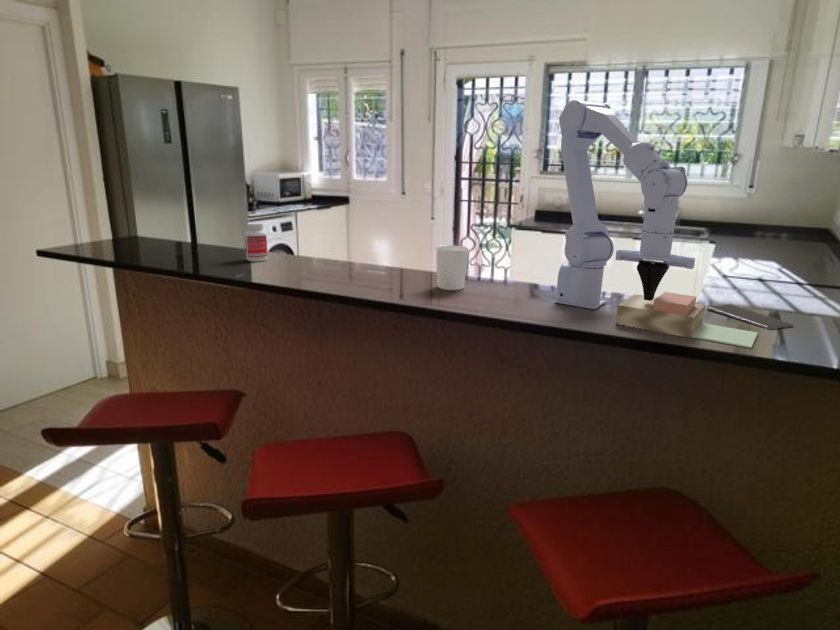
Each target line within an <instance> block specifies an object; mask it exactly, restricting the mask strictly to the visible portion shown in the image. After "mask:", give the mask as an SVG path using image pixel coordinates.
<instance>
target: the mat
mask: <svg viewBox="0 0 840 630" xmlns="http://www.w3.org/2000/svg"><path fill="white" fill-rule="evenodd" d="M758 335H759V332H757V331H752V330H745V329H740V328H733V327H729V326H727V327H726V326H721V325H716V324H709V323H704V322H702V324H701V325H700V326H699V327H698V328H697V330H696V331H695V332H694V333H693V334H692V336H691V338H693V339H698V340H703V341H707V342H709V341H710V342H714V343H721V344H726V345H730V346H736V347H741V348H747V349H752V347H753V346H754V344H755V340H756V339H757V337H758Z"/></svg>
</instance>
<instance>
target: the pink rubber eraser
mask: <svg viewBox="0 0 840 630" xmlns="http://www.w3.org/2000/svg"><path fill="white" fill-rule="evenodd" d="M696 302H697V296H696V295H689V294H680V293H674V292H667V291H664V292H663V293H661V294H660V295H658V297H656V299H655V300H654V303H653V310H655V311H661V312H667V313H673V314H679V315H685V316H686V315H687V314H688V313H689V312H690V311H691V310H692V309H693V308H694V307H695V304H697V303H696Z"/></svg>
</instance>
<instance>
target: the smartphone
mask: <svg viewBox="0 0 840 630" xmlns="http://www.w3.org/2000/svg"><path fill="white" fill-rule="evenodd" d="M706 309H707V310H708V312H709V311H710V312H712V313H716V314H718V315H722V316H724V317H727V318H730V319H734V320H737V321H740V322H743V323H746V324H750V325H753V326H756V327H759V328H762V329H765V328H766V330H769V329H774V330H778V329H777V328H781V329H788V328H787V327H791V328H794V324H792V323H790V322H787V321H784V320H781V319H779V318H778V319H777V318H775V317H772V316H771V317H770V316H768V315H765V314H761V313H759V312H755V311H752V310H748V309H746V308H743V307H740V306H736V305H733V304H720V305H719V304H718V305H710V306H707V307H706ZM782 327H783V328H782Z"/></svg>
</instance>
